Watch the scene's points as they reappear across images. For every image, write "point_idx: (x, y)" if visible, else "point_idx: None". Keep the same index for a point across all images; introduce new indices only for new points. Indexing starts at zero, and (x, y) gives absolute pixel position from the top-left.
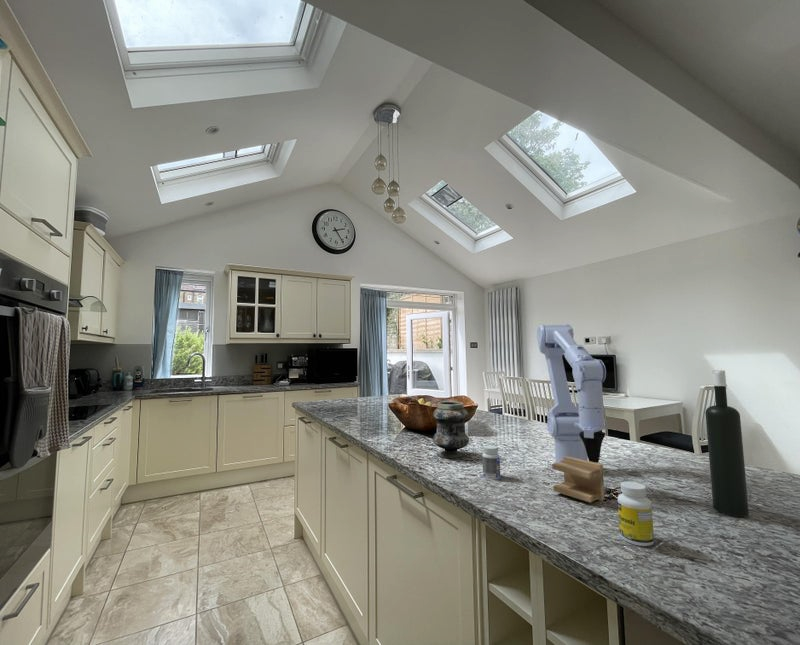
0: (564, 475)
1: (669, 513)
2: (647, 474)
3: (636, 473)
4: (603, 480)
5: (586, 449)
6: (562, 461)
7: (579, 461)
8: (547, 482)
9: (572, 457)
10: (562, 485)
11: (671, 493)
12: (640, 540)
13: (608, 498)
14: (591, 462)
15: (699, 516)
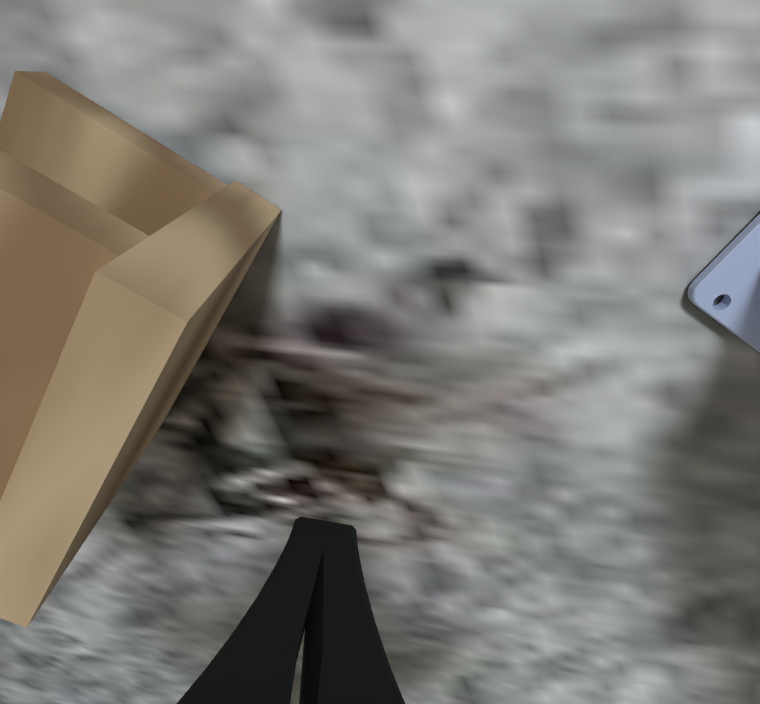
0: (191, 210)
1: (123, 628)
2: (708, 669)
3: (726, 633)
4: (106, 507)
5: (235, 629)
6: (51, 239)
7: (26, 451)
8: (388, 13)
9: (145, 394)
10: (86, 168)
11: (406, 685)
12: None
13: (194, 442)
14: (28, 556)
15: (152, 696)
